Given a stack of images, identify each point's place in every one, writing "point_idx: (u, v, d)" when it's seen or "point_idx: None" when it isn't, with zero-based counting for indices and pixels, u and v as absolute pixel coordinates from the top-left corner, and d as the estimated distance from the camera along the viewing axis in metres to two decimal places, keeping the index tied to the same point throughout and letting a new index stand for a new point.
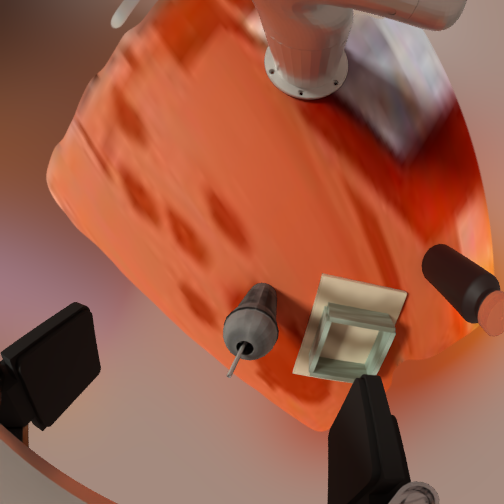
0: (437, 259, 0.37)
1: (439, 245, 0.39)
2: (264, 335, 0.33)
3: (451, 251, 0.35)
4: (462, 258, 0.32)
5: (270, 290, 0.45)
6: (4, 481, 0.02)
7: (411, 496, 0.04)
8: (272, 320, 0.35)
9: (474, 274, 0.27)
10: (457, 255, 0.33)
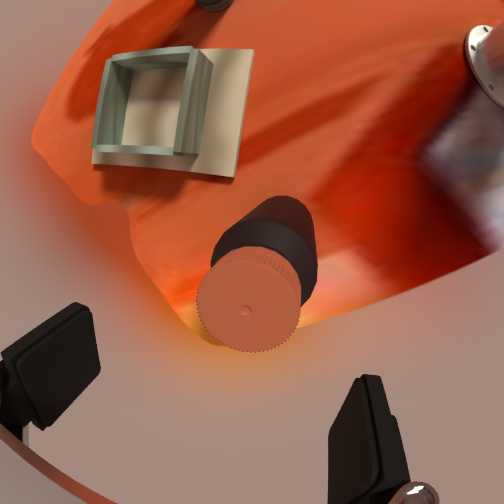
0: (298, 206, 0.27)
1: None
2: None
3: None
4: None
5: None
6: (4, 481, 0.02)
7: (411, 496, 0.04)
8: None
9: (311, 243, 0.18)
10: (314, 236, 0.25)
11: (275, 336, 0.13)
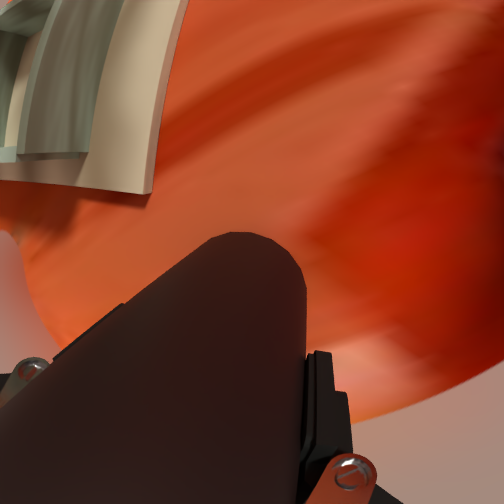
0: (268, 271, 0.10)
1: (304, 286, 0.14)
2: None
3: (305, 332, 0.11)
4: None
5: None
6: None
7: (343, 469, 0.05)
8: None
9: None
10: (304, 365, 0.08)
11: None
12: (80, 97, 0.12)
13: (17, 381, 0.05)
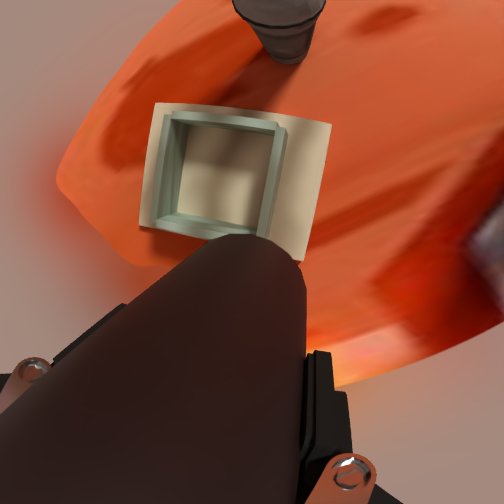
0: (268, 273, 0.10)
1: (304, 287, 0.14)
2: None
3: (305, 334, 0.11)
4: None
5: (306, 51, 0.24)
6: None
7: (343, 468, 0.05)
8: (308, 19, 0.15)
9: None
10: (304, 367, 0.09)
11: None
12: (273, 208, 0.29)
13: (17, 381, 0.05)
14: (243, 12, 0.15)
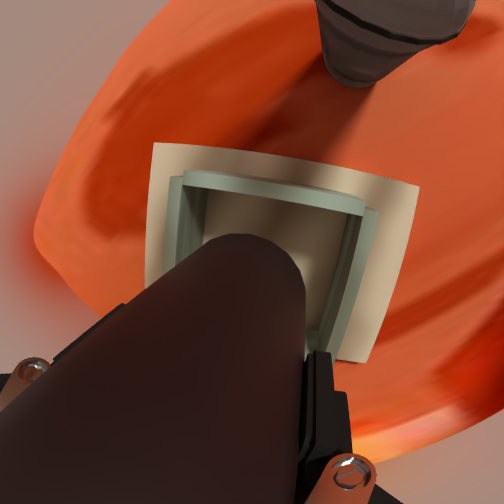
0: (267, 273, 0.10)
1: (304, 287, 0.14)
2: None
3: (304, 334, 0.11)
4: (301, 400, 0.07)
5: None
6: None
7: (343, 469, 0.05)
8: (453, 34, 0.06)
9: None
10: (303, 367, 0.09)
11: None
12: None
13: (17, 381, 0.05)
14: None
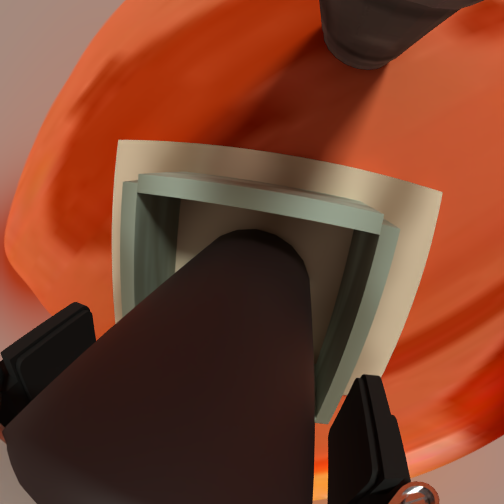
0: (276, 260, 0.12)
1: (307, 275, 0.15)
2: None
3: (310, 315, 0.12)
4: (313, 368, 0.08)
5: None
6: (4, 481, 0.02)
7: (411, 496, 0.04)
8: None
9: None
10: (312, 341, 0.10)
11: None
12: None
13: None
14: None
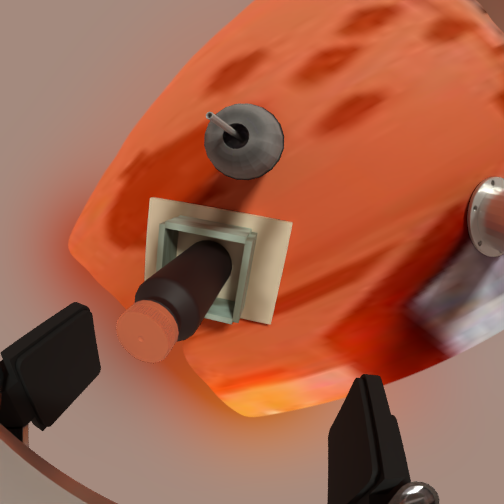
0: (211, 252, 0.35)
1: (229, 259, 0.38)
2: (255, 163, 0.23)
3: (224, 271, 0.35)
4: (216, 282, 0.31)
5: None
6: (4, 481, 0.02)
7: (411, 496, 0.04)
8: (266, 171, 0.25)
9: (195, 292, 0.26)
10: (219, 277, 0.33)
11: (159, 354, 0.21)
12: (246, 290, 0.39)
13: None
14: None
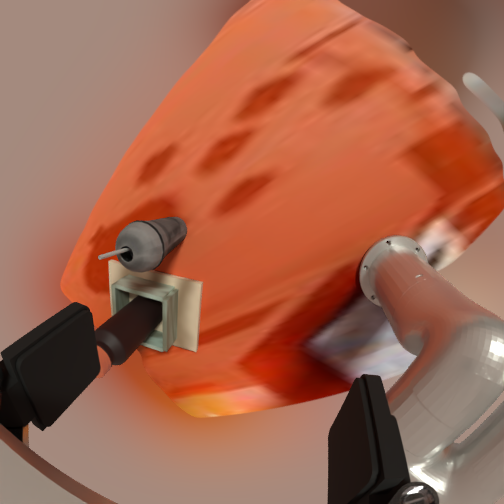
0: (144, 305, 0.48)
1: (161, 307, 0.51)
2: (141, 268, 0.36)
3: (153, 318, 0.48)
4: (143, 328, 0.45)
5: (181, 241, 0.47)
6: (4, 481, 0.02)
7: (411, 496, 0.04)
8: (155, 266, 0.38)
9: (122, 338, 0.39)
10: (147, 323, 0.46)
11: (100, 373, 0.34)
12: (174, 328, 0.52)
13: None
14: None
